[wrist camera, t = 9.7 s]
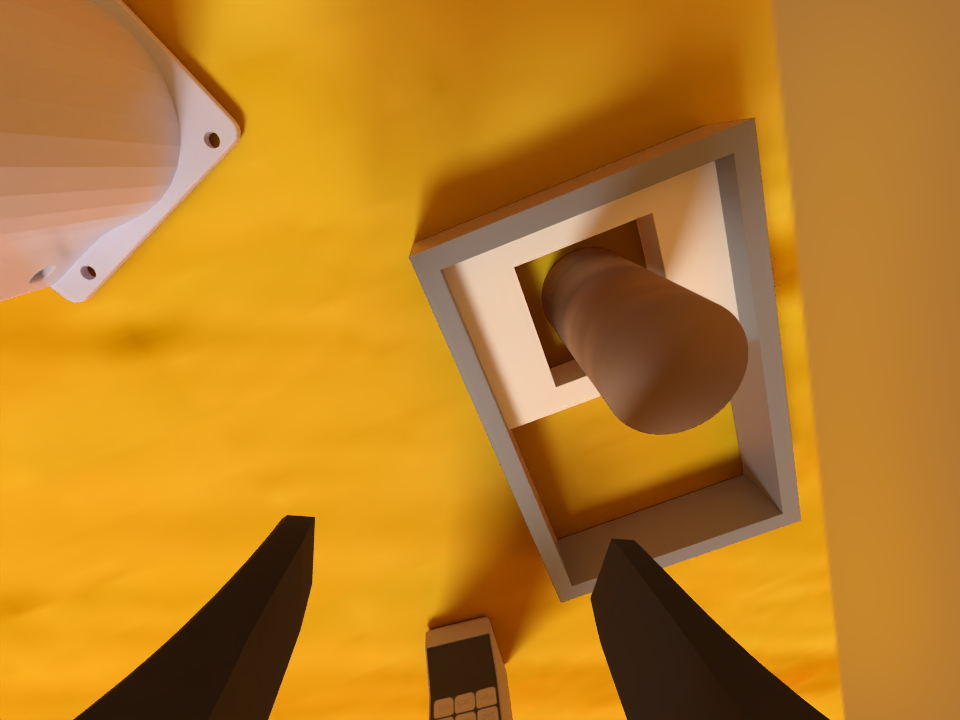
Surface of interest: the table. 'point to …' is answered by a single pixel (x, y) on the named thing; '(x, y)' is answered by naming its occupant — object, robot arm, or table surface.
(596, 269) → the walnut peg
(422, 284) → the grey tray
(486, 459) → the table surface
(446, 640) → the vintage mobile phone
